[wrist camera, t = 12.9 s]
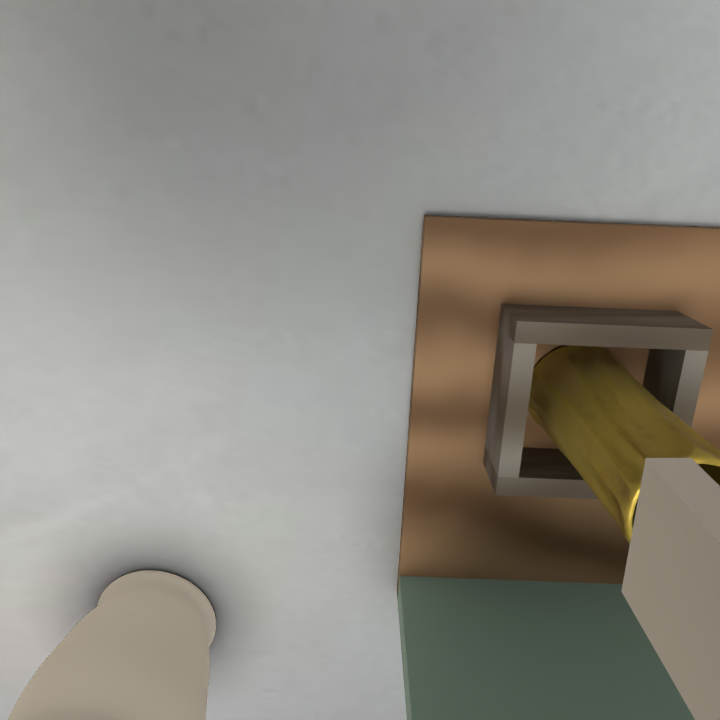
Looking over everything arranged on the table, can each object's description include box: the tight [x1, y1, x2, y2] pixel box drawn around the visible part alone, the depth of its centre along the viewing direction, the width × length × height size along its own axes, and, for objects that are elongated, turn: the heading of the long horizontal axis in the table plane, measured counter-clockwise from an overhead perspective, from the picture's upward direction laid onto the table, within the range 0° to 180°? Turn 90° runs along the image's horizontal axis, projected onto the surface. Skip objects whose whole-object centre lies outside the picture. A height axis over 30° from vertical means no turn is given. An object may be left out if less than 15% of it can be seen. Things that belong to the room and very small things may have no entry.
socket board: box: [397, 215, 720, 598], centre depth 38 cm, size 26×22×5 cm
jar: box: [8, 570, 216, 720], centre depth 38 cm, size 11×10×15 cm
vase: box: [528, 345, 720, 544], centre depth 32 cm, size 6×6×14 cm
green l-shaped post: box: [398, 576, 695, 720], centre depth 33 cm, size 9×22×20 cm, turn 88°
